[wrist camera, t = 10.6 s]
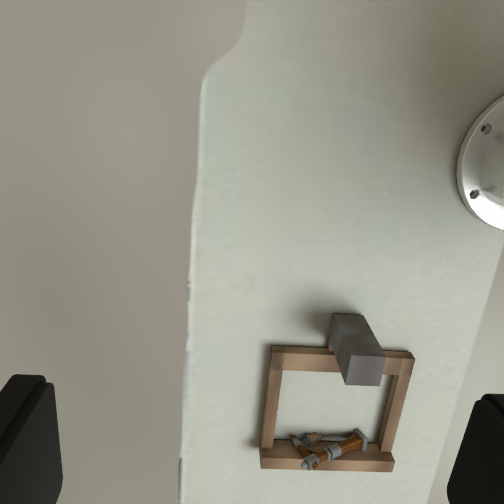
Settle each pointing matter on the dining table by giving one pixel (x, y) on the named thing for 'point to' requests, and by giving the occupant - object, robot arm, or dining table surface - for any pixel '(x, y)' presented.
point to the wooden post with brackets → (328, 453)
